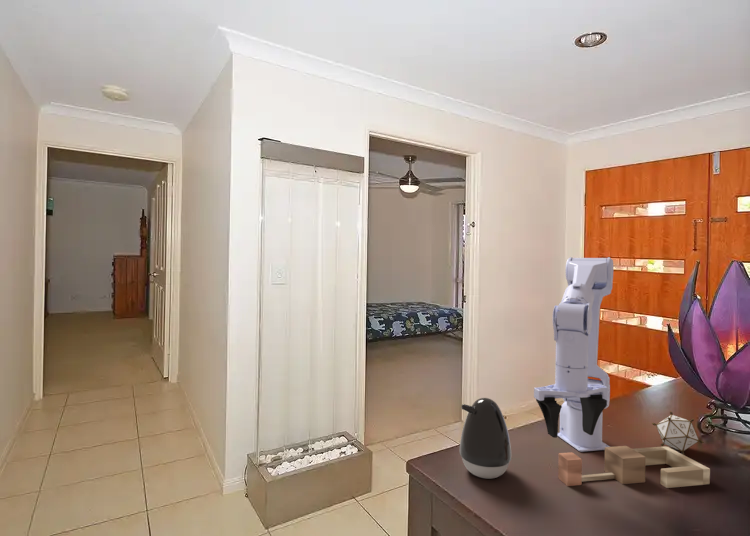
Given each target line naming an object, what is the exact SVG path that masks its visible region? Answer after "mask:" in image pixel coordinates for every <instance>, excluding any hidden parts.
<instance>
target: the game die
mask: <svg viewBox="0 0 750 536" xmlns="http://www.w3.org/2000/svg"><path fill="white" fill-rule="evenodd" d="M694 420H695V418H691V419H690V420H689V419H686V418H684V417H681V416H679V415H678V416H677V415H675V414H674V413H673V411H671V410H670V411H669V415H668V416H667V417H664V419H662V420H661V421H659V422H657V423H654V422H651V424H652V425H653V426H655V427H656V429H657V432H658V434H659V437H660V439H661V442H662V443H661V444H660V447H663V446H667V447H669V448H671V449H674V450H676V451H678V452H681V454H683V455H685V451H686V450H688V449H690V448H691V447H693V446H694V445H696V444H697V443H700V444H703V443H705V442H704V441H703V440H702V439H701V440H700V439H699V436H698V434H697V432H696V429H695V426H694V424H693V422H694Z"/></svg>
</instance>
